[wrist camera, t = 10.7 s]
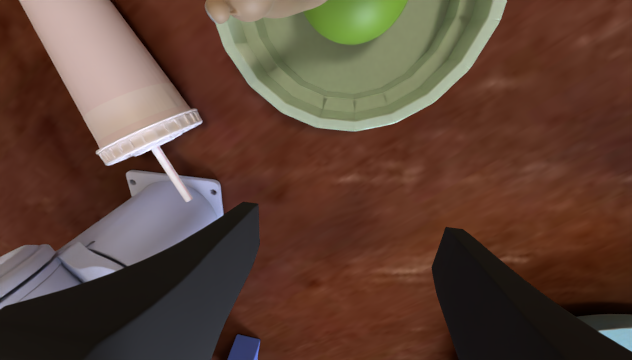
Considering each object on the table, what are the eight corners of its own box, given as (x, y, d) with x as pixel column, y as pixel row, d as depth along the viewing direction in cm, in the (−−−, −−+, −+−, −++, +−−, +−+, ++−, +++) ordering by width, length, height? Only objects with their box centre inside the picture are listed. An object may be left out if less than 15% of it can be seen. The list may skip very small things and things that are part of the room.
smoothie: (-40, 11, 14) (129, 232, 18) (-5, -73, 11) (189, 217, 15) (88, 15, 19) (197, 186, 24) (137, -42, 16) (252, 167, 21)
